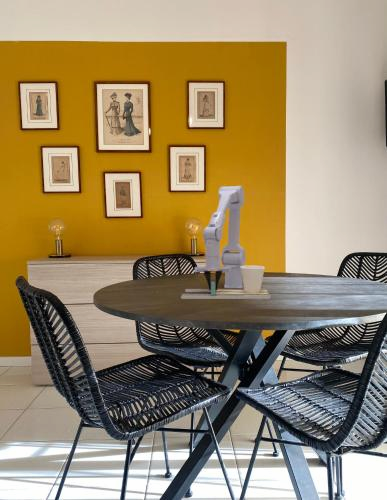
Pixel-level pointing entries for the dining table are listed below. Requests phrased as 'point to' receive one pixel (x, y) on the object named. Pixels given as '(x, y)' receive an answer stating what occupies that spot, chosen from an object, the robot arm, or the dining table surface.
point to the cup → (252, 278)
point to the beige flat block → (236, 291)
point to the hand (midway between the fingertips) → (213, 289)
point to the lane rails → (222, 296)
